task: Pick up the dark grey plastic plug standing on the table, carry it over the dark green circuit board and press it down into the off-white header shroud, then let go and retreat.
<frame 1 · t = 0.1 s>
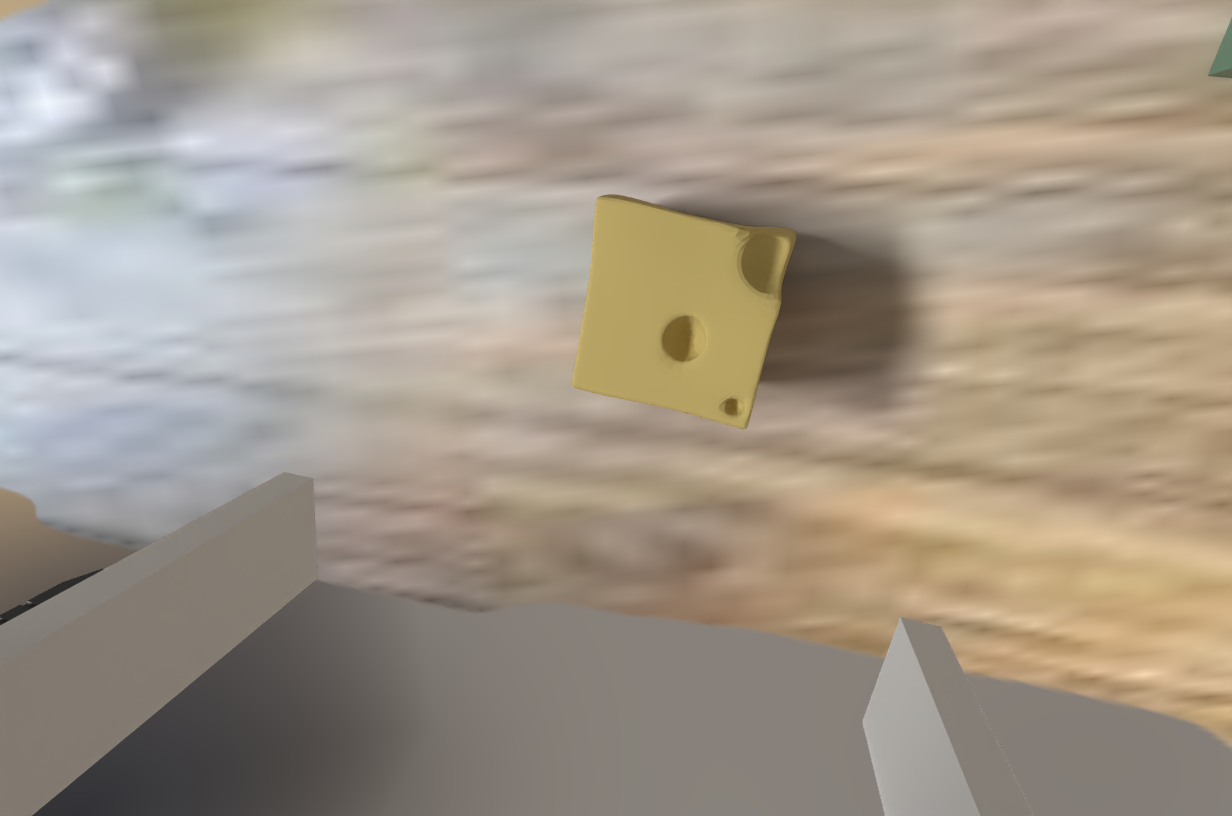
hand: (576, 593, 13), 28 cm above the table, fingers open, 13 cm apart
cheese: (690, 297, 38), on the table
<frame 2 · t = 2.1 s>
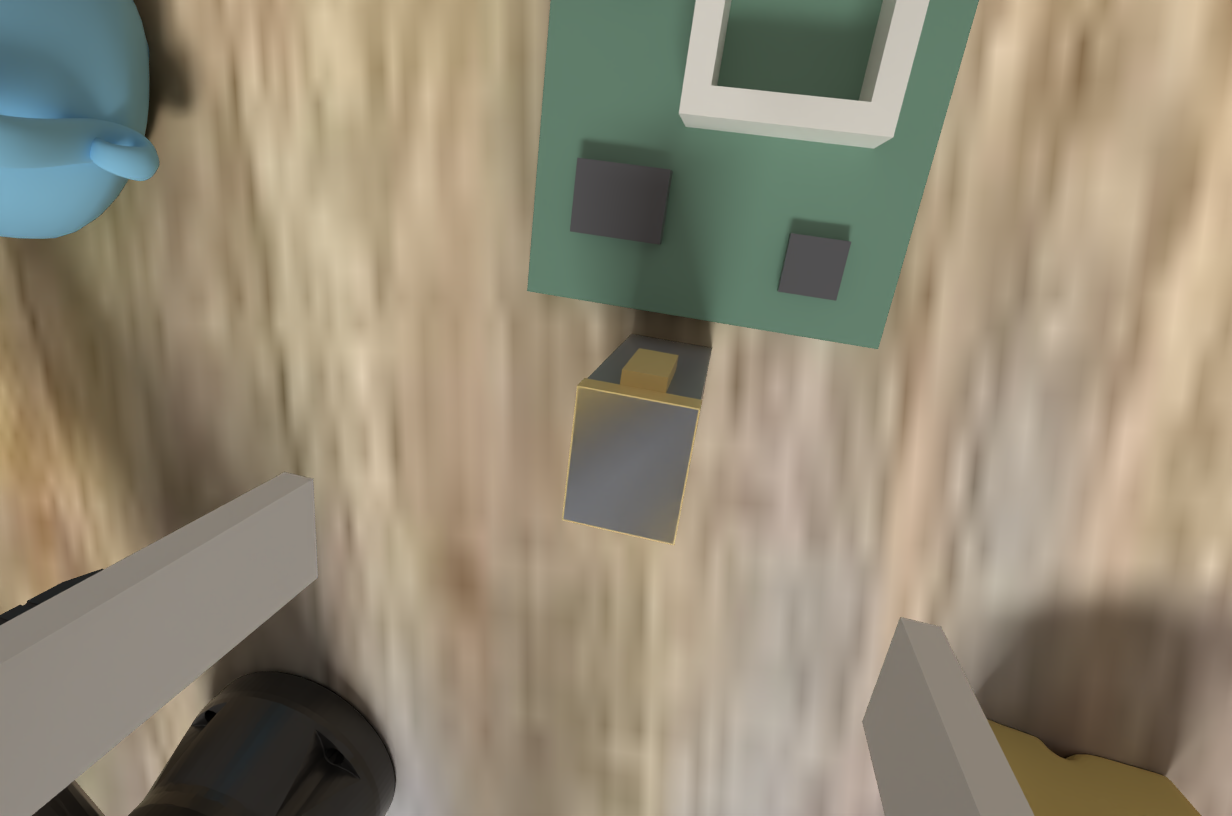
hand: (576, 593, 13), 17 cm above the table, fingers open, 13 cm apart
cheese: (1028, 804, 32), on the table
plug: (663, 389, 29), on the table
decorative pot: (69, 76, 30), on the table
header board: (734, 105, 24), on the table
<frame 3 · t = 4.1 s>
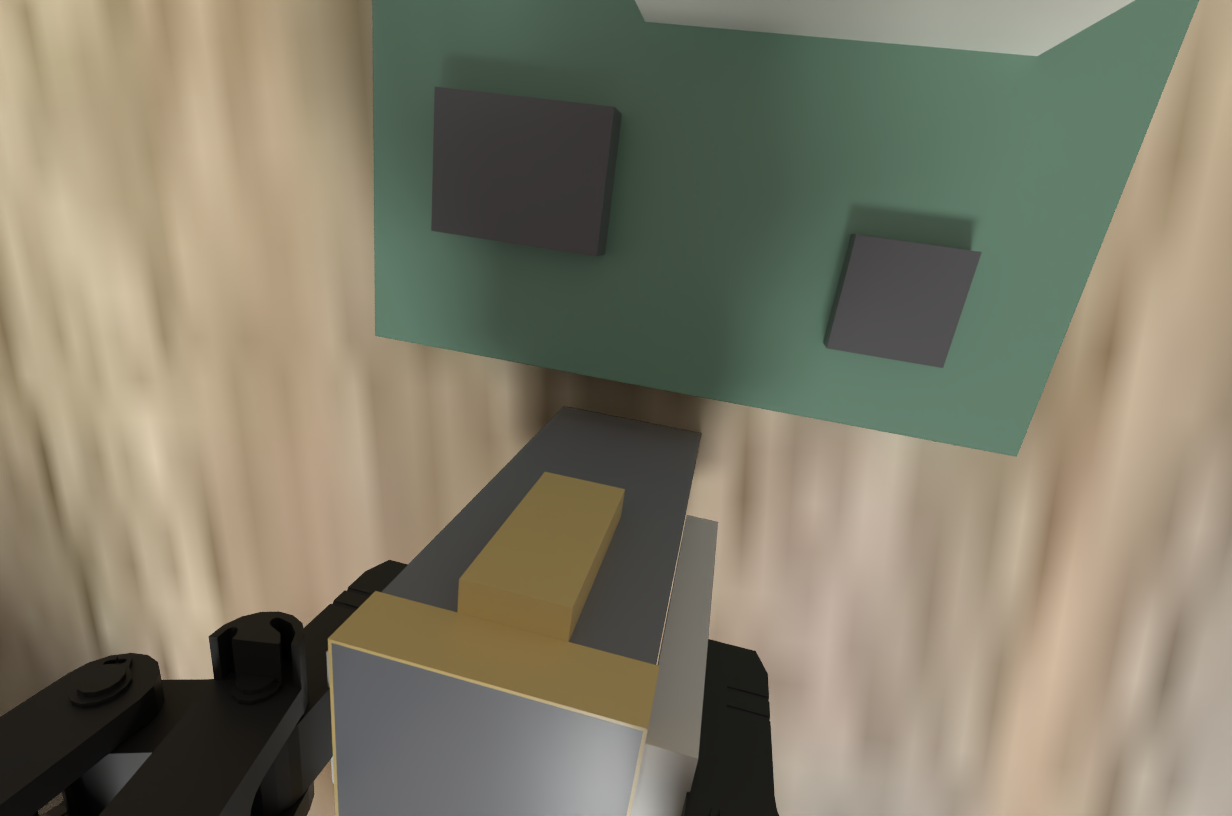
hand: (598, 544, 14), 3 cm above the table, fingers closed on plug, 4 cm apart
plug: (619, 497, 17), on the table, touching gripper
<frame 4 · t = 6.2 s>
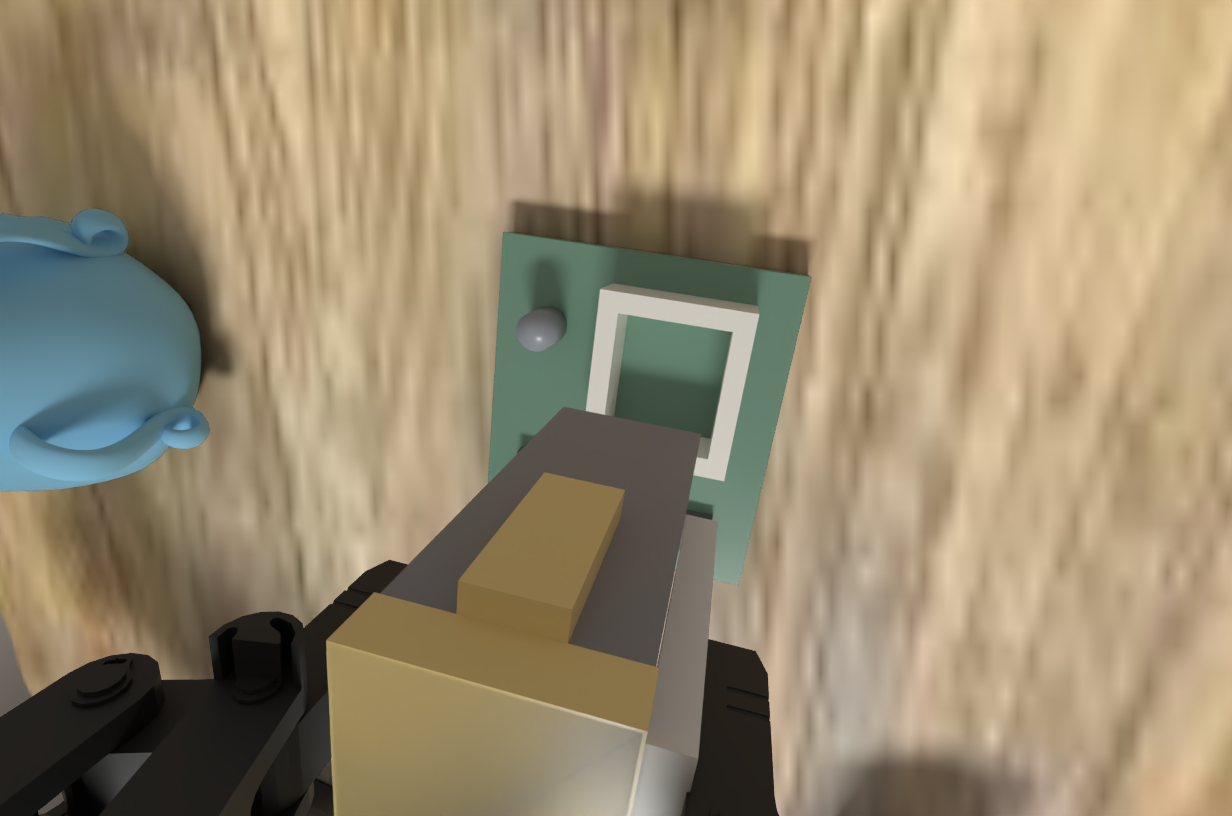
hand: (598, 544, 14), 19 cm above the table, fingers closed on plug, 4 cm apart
plug: (619, 498, 17), point 16 cm above the table, touching gripper
decorative pot: (136, 342, 40), on the table
header board: (631, 410, 33), on the table
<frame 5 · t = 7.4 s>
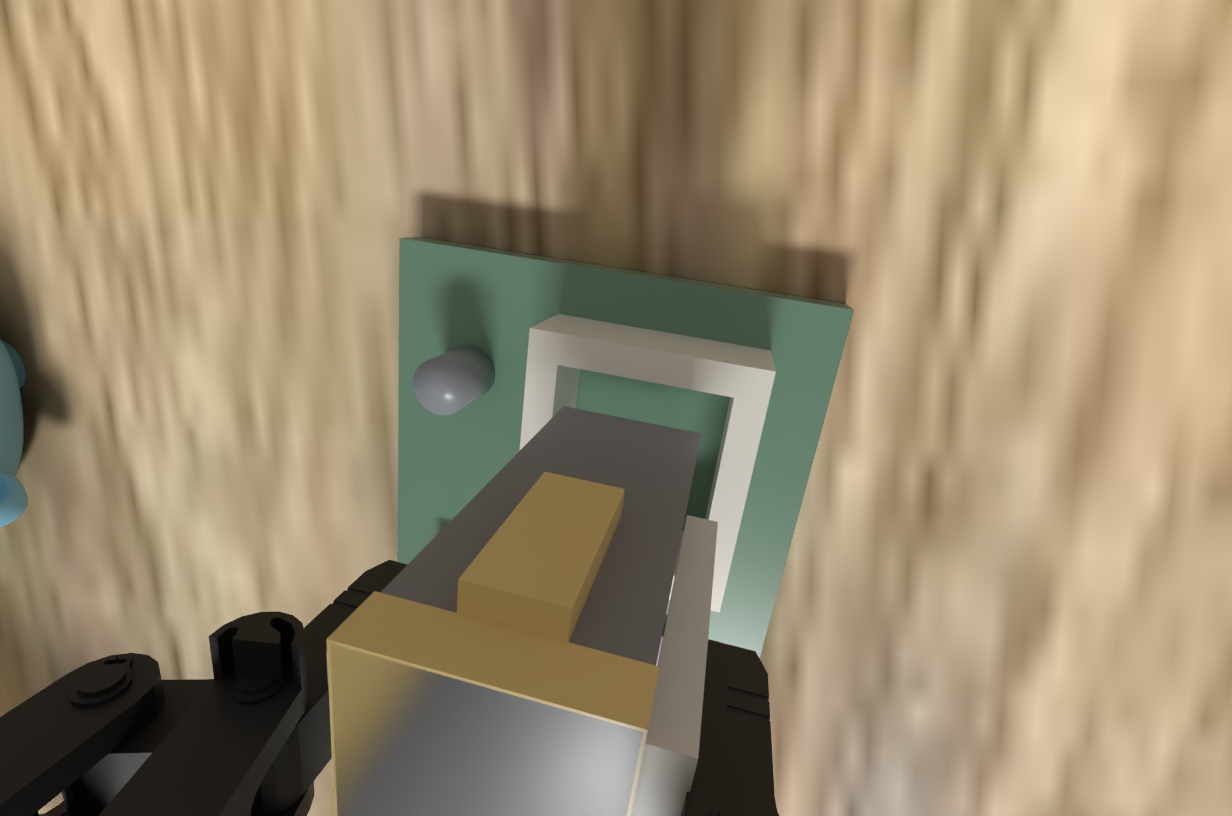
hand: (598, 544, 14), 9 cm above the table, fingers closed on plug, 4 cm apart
plug: (619, 497, 17), point 6 cm above the table, touching gripper
header board: (592, 486, 24), on the table
when the fingers open (5 cm above the table, at t = 8.4 s): plug stays where it is, resting on header board.
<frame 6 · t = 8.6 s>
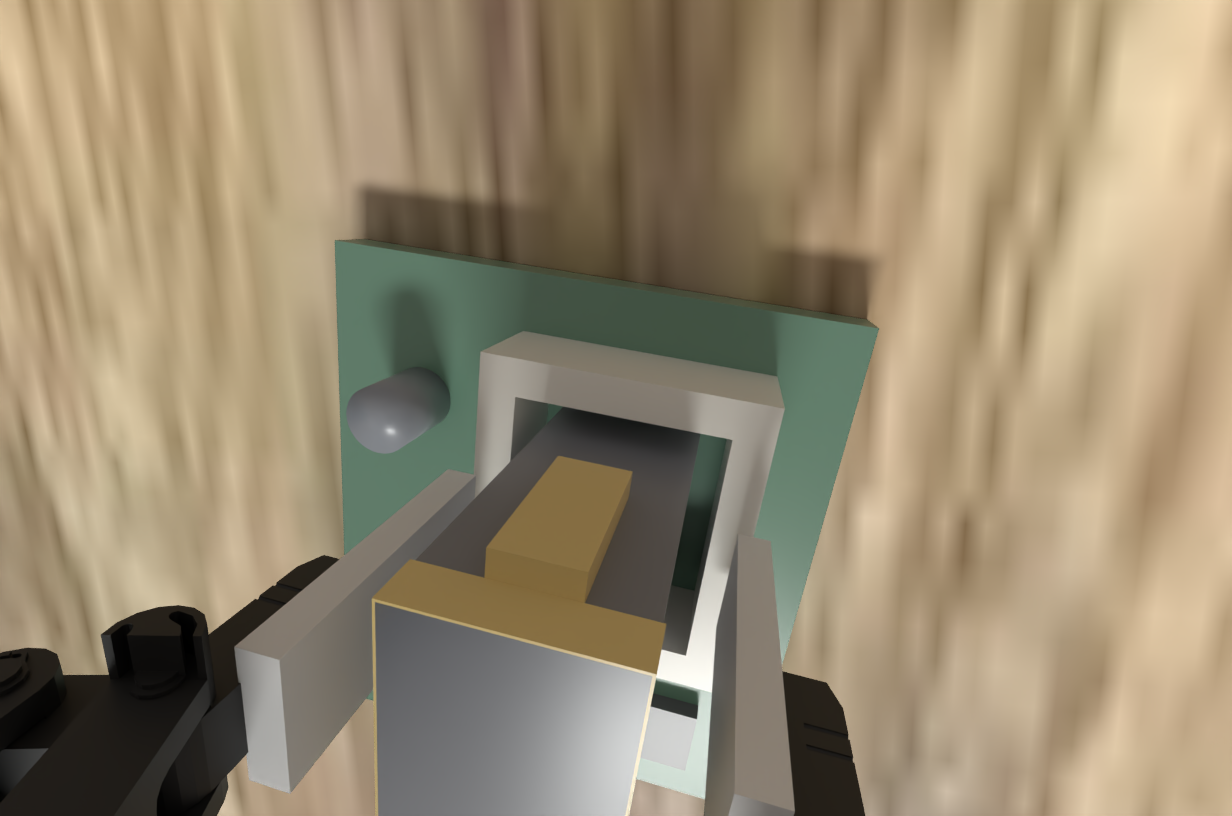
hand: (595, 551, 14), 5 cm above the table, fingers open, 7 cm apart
plug: (625, 484, 18), point 2 cm above the table, touching header board
header board: (568, 528, 21), on the table
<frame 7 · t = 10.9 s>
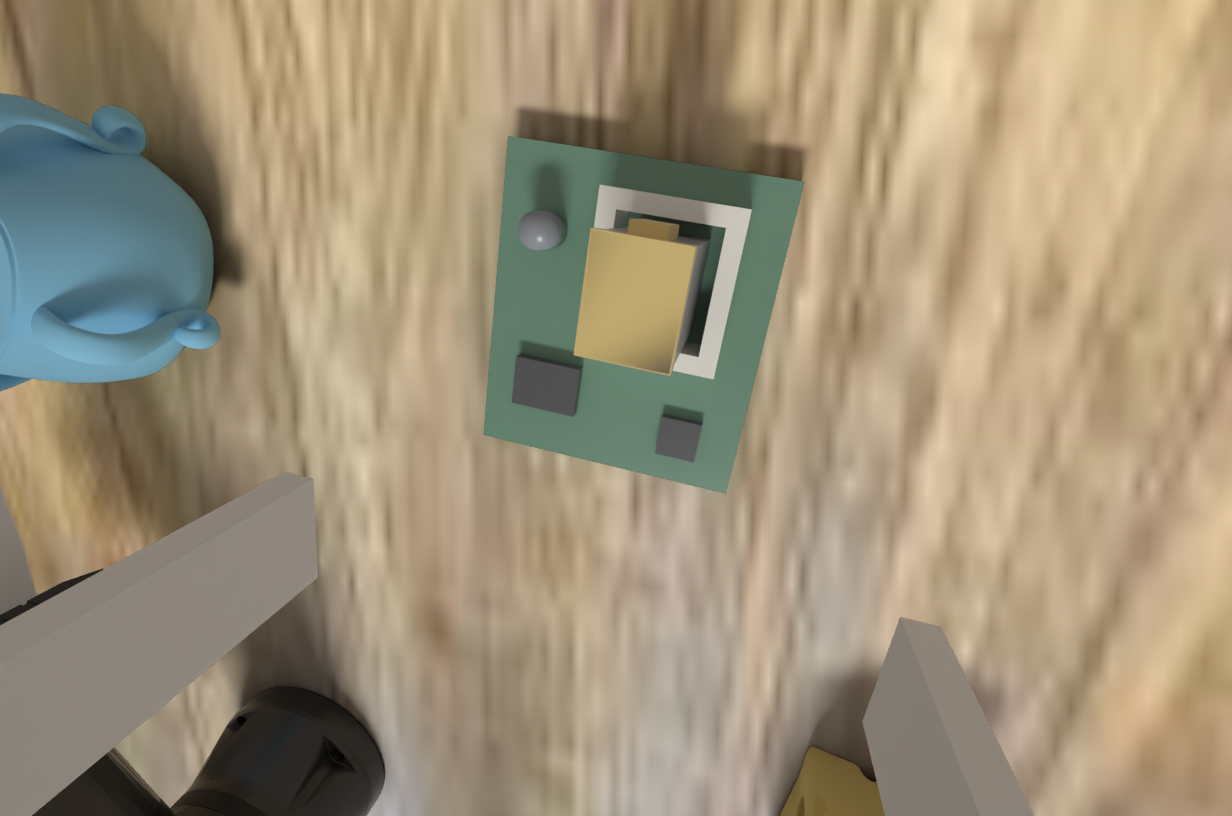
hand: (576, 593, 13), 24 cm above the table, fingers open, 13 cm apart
cheese: (855, 812, 43), on the table
plug: (665, 279, 32), point 1 cm above the table, touching header board
decorative pot: (151, 252, 41), on the table
header board: (628, 320, 34), on the table
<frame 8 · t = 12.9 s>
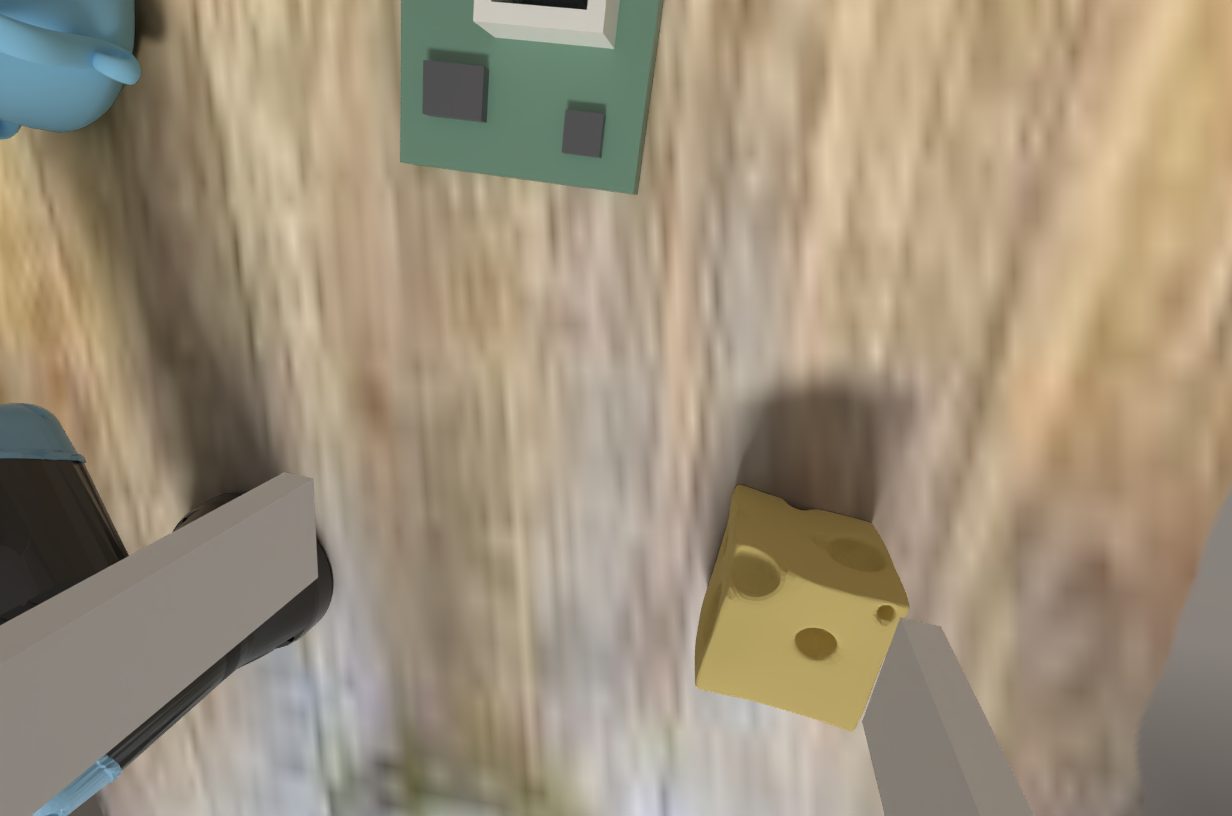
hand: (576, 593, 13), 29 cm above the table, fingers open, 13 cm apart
cheese: (786, 558, 43), on the table
decorative pot: (77, 15, 42), on the table
header board: (532, 24, 35), on the table
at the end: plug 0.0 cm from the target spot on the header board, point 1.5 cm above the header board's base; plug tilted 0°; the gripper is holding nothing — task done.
